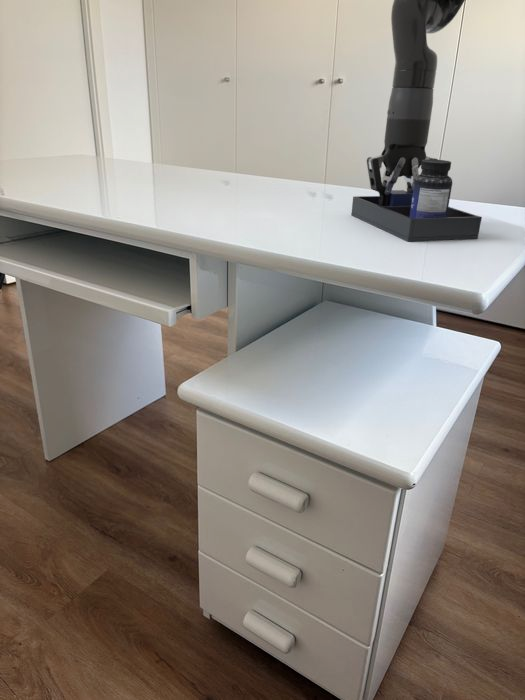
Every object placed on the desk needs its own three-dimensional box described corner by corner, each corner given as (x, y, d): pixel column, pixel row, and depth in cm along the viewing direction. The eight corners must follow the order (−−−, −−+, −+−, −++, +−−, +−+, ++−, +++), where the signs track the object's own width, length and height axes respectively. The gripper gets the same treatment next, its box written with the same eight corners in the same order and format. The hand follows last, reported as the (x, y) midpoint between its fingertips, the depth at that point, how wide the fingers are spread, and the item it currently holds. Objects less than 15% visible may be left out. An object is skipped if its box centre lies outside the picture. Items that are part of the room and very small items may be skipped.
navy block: (400, 213, 104) (403, 190, 103) (411, 217, 101) (415, 193, 99) (379, 213, 103) (382, 190, 101) (390, 218, 100) (393, 194, 98)
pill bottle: (412, 222, 96) (422, 158, 92) (447, 227, 94) (459, 160, 89) (404, 228, 91) (413, 160, 87) (440, 233, 89) (452, 163, 84)
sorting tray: (410, 213, 109) (413, 195, 107) (477, 238, 90) (482, 217, 88) (351, 215, 106) (352, 196, 104) (407, 241, 86) (410, 219, 85)
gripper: (382, 116, 90) (370, 219, 97) (456, 118, 93) (439, 217, 100) (362, 115, 96) (353, 211, 103) (432, 116, 100) (418, 210, 107)
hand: (395, 214), depth 102 cm, fingers closed on navy block, 4 cm apart
